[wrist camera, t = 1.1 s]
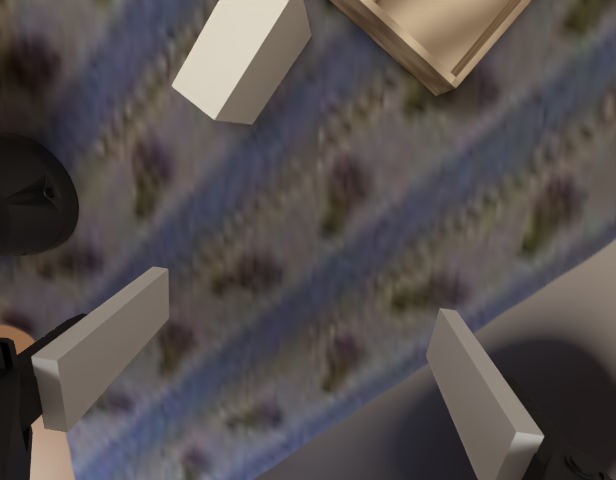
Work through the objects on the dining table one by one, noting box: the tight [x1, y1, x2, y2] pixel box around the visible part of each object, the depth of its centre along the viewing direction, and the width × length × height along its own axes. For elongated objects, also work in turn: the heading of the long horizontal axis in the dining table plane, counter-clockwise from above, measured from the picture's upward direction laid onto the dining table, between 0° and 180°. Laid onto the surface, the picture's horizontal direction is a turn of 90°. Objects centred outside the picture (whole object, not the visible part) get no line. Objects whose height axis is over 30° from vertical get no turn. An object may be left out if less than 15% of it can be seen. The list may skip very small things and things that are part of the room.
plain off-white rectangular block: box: [172, 0, 312, 125], centre depth 29 cm, size 4×11×12 cm, turn 142°
